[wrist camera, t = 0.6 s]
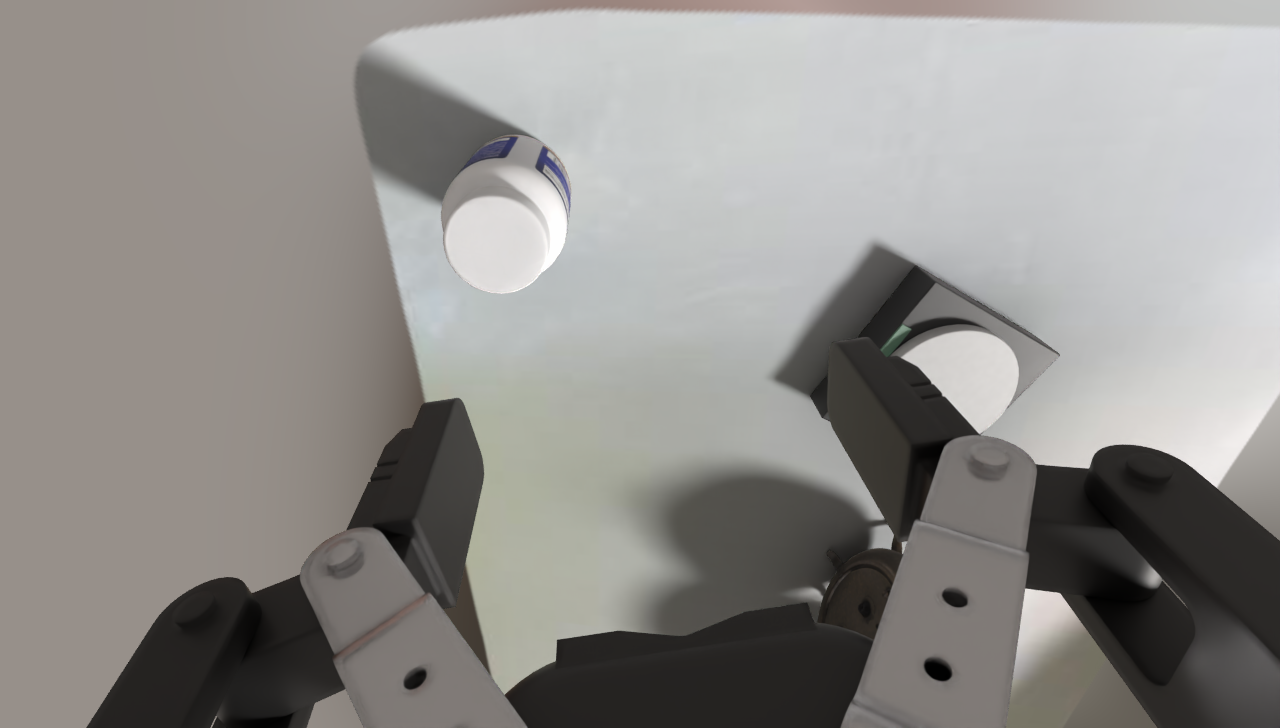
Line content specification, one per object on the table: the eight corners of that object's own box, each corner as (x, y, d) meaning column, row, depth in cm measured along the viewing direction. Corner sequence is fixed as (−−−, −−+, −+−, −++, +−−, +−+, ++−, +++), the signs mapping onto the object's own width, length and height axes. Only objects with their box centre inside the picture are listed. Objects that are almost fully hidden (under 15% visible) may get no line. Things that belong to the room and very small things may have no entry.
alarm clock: (837, 610, 49) (932, 847, 35) (782, 594, 48) (858, 834, 34) (922, 520, 44) (1070, 752, 30) (863, 499, 43) (990, 733, 29)
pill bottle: (460, 223, 31) (415, 291, 24) (475, 120, 29) (430, 158, 21) (560, 248, 32) (548, 321, 25) (583, 150, 30) (577, 198, 22)
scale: (809, 396, 38) (826, 426, 35) (915, 264, 34) (943, 287, 31) (924, 450, 41) (948, 482, 38) (1035, 335, 37) (1070, 362, 34)
